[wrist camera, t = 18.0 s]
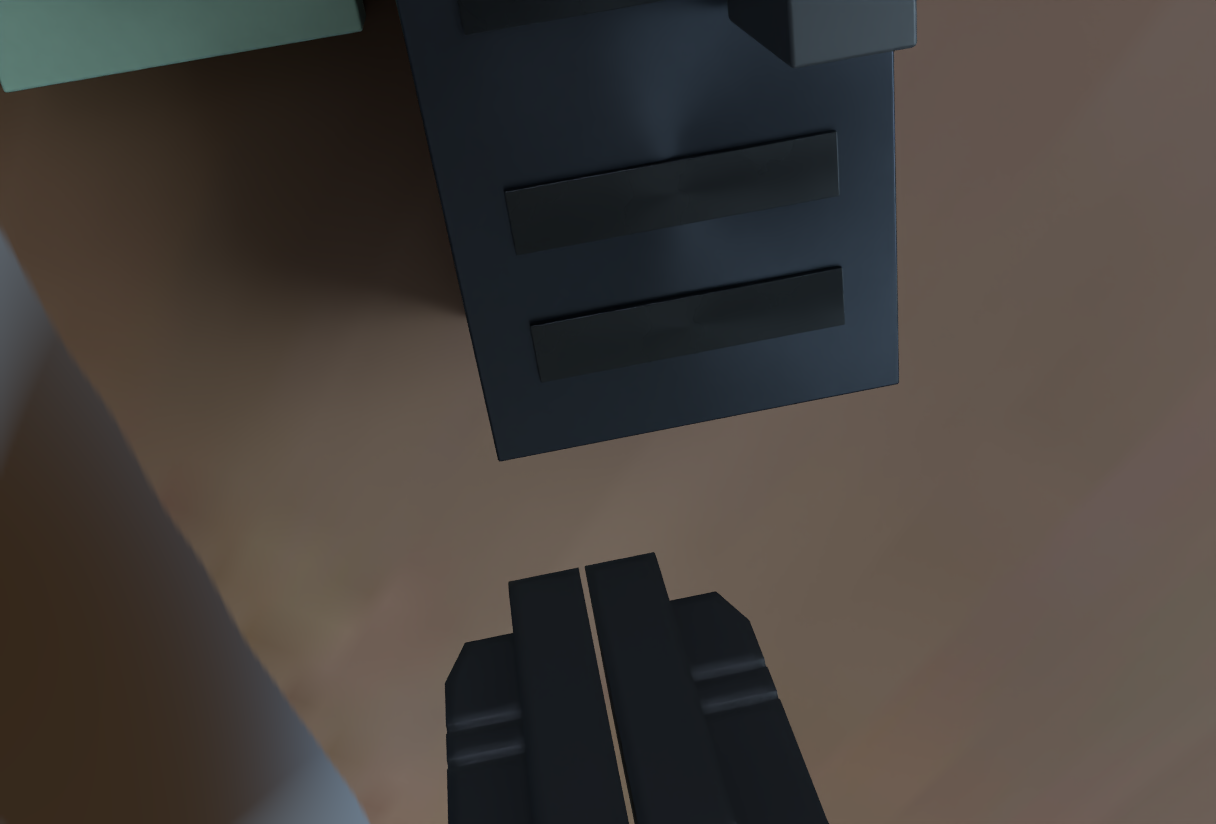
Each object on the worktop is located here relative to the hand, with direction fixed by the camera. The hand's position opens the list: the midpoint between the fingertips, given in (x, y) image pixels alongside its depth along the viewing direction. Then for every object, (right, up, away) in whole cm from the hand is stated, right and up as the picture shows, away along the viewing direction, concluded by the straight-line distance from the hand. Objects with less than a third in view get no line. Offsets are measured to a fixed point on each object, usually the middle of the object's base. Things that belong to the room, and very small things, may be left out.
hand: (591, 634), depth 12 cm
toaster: (0, +13, +24) cm, 27 cm away
